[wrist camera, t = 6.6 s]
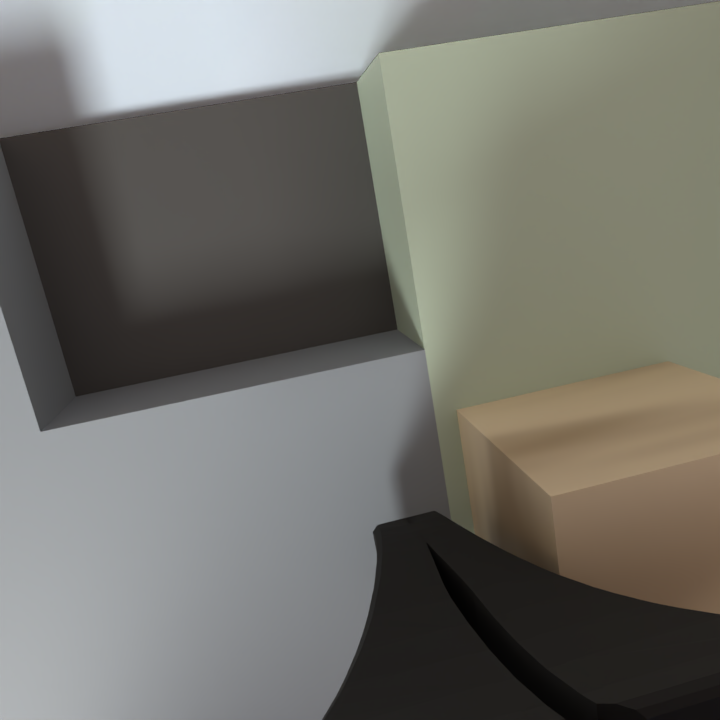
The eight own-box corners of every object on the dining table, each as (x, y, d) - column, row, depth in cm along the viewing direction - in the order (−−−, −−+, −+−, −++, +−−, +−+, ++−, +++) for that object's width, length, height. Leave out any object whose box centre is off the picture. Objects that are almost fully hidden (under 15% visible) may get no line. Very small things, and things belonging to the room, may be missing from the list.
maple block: (679, 556, 14) (845, 686, 10) (485, 609, 13) (581, 767, 9) (667, 360, 13) (848, 422, 9) (456, 409, 12) (550, 496, 8)
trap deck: (762, 689, 18) (897, 813, 15) (-197, 980, 15) (-349, 1237, 11) (745, 22, 14) (931, -53, 10) (-598, 234, 11) (-1057, 242, 7)
